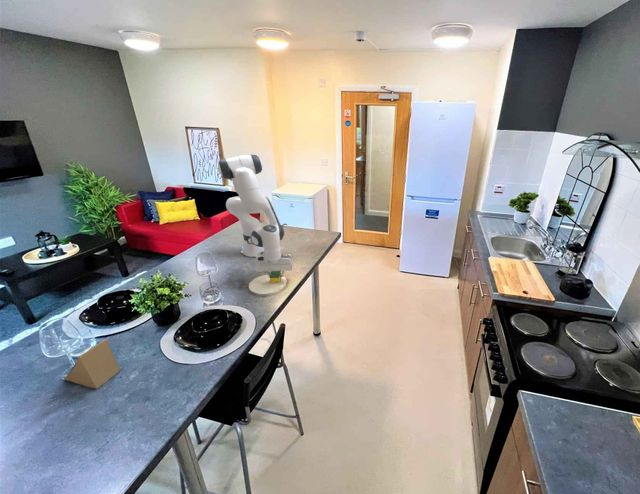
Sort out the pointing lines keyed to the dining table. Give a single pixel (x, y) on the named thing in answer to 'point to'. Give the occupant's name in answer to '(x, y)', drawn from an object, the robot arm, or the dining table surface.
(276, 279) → the sponge
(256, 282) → the plate
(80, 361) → the sandwich container
